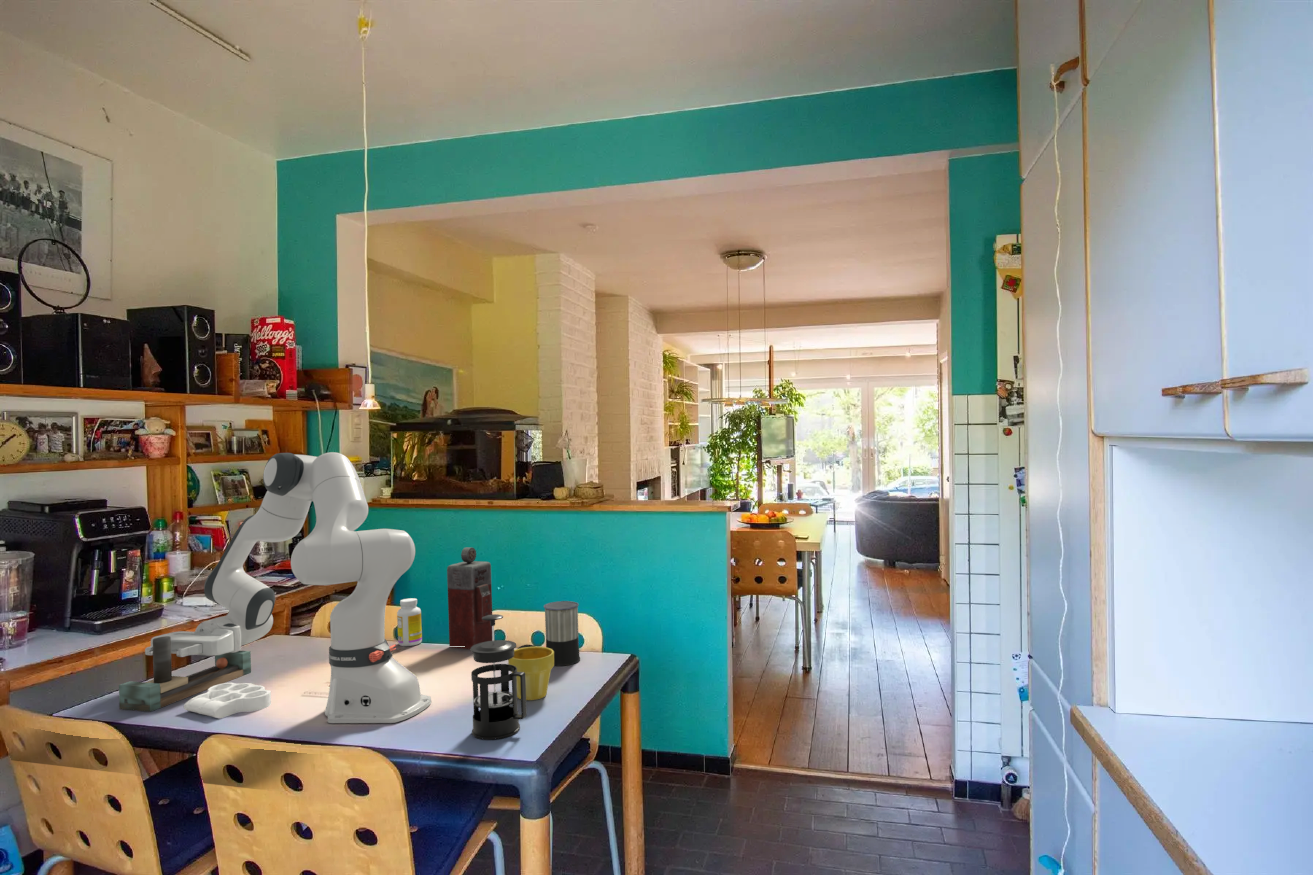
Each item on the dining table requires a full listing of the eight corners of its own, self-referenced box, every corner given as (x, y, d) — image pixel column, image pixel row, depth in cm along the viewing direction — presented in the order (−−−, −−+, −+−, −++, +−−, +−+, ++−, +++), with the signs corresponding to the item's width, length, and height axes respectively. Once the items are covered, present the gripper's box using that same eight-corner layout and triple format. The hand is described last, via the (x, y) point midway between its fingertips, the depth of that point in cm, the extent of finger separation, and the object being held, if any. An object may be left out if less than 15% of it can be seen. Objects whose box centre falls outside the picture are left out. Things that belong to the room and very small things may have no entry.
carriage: (188, 683, 172) (186, 634, 172) (160, 693, 166) (159, 643, 166) (165, 681, 174) (163, 633, 174) (137, 691, 167) (135, 641, 167)
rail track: (251, 672, 189) (250, 651, 189) (150, 711, 162) (149, 687, 162) (223, 670, 191) (222, 649, 191) (119, 709, 164) (118, 684, 164)
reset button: (227, 667, 186) (227, 657, 186) (224, 668, 185) (224, 658, 185) (219, 667, 186) (219, 657, 186) (216, 668, 185) (216, 658, 185)
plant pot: (564, 694, 164) (563, 651, 164) (526, 707, 157) (524, 662, 157) (538, 684, 172) (536, 643, 172) (500, 696, 164) (499, 653, 164)
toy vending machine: (481, 650, 202) (478, 550, 202) (448, 647, 206) (445, 549, 207) (500, 642, 210) (497, 545, 210) (468, 639, 215) (465, 544, 215)
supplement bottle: (425, 640, 215) (424, 597, 215) (416, 646, 208) (414, 602, 208) (404, 640, 215) (402, 597, 215) (394, 646, 209) (392, 602, 209)
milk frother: (586, 661, 188) (585, 604, 189) (530, 674, 180) (528, 614, 180) (562, 649, 200) (560, 596, 200) (508, 660, 192) (507, 604, 192)
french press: (459, 737, 141) (456, 620, 142) (483, 719, 151) (480, 609, 151) (514, 742, 138) (510, 622, 139) (535, 723, 147) (531, 610, 148)
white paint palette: (175, 712, 162) (239, 691, 175) (224, 724, 154) (287, 701, 167) (175, 697, 162) (239, 677, 175) (223, 708, 154) (287, 687, 167)
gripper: (180, 623, 186) (128, 637, 173) (245, 625, 181) (196, 640, 167) (181, 647, 186) (129, 663, 173) (245, 651, 181) (197, 668, 167)
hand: (162, 652), depth 170 cm, fingers open, 8 cm apart
